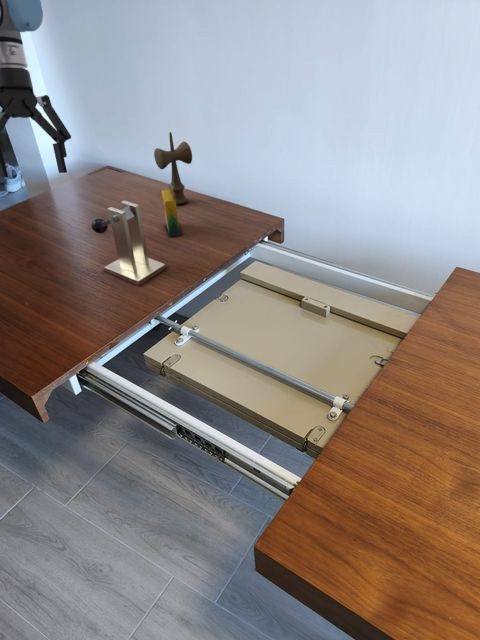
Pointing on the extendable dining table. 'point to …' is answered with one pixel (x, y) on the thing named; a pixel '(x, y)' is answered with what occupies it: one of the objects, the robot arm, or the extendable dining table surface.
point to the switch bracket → (131, 247)
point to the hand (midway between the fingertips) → (35, 175)
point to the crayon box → (170, 212)
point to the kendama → (174, 166)
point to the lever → (108, 221)
